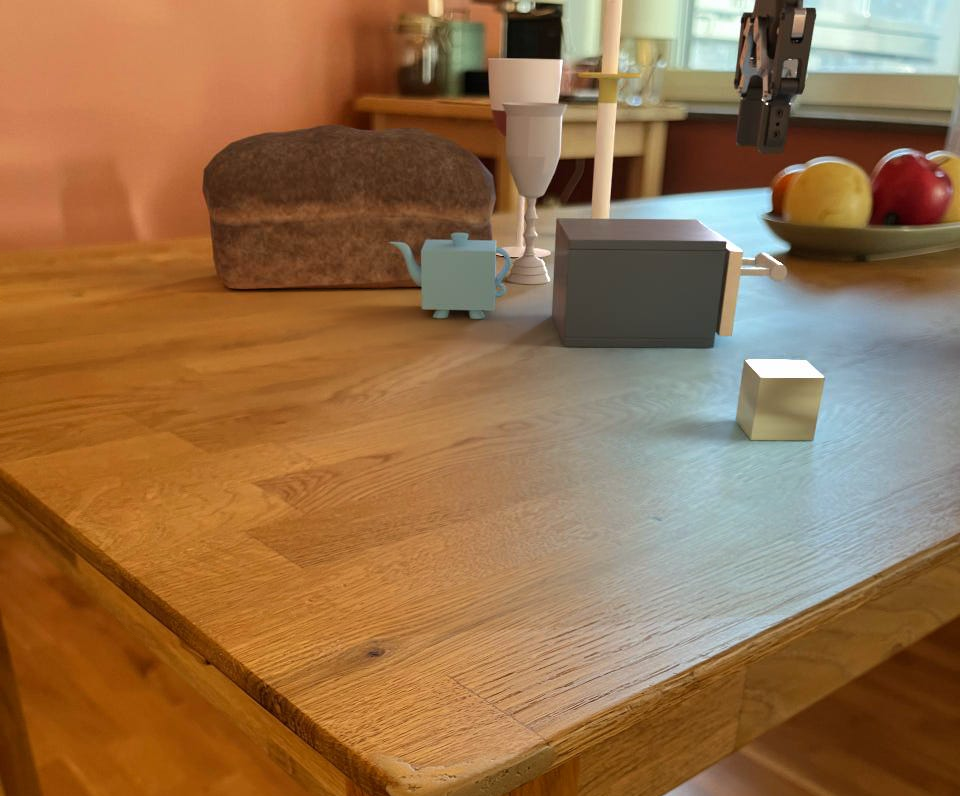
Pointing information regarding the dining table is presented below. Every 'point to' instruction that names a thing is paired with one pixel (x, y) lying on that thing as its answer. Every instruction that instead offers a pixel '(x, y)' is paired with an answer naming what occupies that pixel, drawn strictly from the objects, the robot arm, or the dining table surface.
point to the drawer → (732, 277)
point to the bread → (339, 205)
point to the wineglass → (522, 85)
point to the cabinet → (637, 282)
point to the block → (779, 399)
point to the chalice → (532, 171)
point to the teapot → (457, 274)
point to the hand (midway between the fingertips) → (758, 148)
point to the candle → (607, 109)
